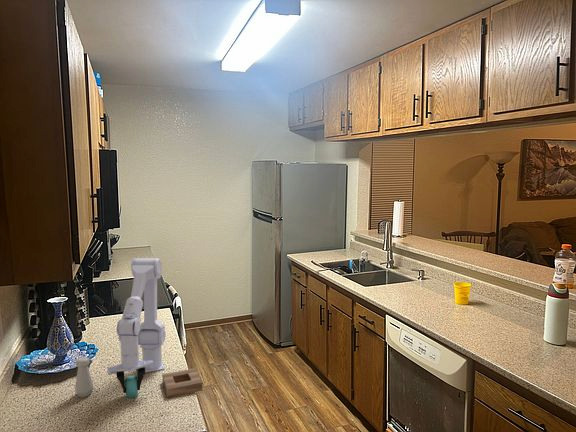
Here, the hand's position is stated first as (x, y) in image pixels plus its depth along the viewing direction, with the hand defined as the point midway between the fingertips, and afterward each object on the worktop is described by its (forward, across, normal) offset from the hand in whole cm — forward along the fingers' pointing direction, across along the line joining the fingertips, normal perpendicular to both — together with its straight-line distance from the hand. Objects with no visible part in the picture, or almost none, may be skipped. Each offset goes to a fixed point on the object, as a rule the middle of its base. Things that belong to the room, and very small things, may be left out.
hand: (131, 390), depth 152 cm
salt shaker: (+2, -15, +7) cm, 17 cm away
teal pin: (+2, 0, 0) cm, 2 cm away
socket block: (+2, +17, -1) cm, 17 cm away
